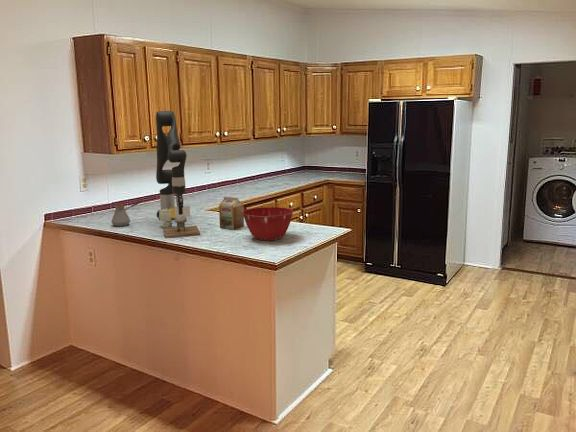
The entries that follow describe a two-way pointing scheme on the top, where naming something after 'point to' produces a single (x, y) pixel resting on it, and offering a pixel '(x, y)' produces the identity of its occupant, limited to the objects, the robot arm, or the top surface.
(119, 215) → the coffee pot
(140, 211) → the top surface
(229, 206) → the milk carton
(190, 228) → the board
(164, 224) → the pneumatic valve
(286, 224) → the mixing bowl
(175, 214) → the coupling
